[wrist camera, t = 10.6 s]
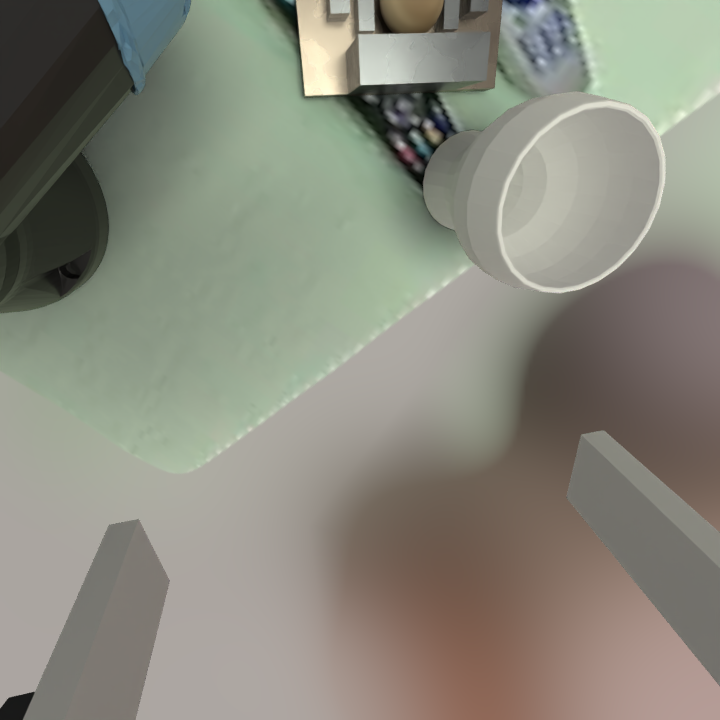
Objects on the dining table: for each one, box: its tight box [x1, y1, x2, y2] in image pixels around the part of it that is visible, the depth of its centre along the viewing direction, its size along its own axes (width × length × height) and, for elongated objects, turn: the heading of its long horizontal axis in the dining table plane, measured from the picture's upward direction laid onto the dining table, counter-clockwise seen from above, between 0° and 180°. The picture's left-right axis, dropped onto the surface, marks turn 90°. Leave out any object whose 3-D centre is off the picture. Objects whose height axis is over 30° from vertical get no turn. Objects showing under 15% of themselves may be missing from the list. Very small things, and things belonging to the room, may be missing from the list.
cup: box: [423, 91, 665, 293], centre depth 28 cm, size 11×11×15 cm
